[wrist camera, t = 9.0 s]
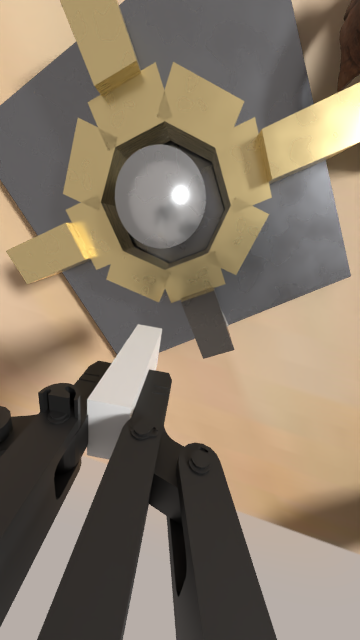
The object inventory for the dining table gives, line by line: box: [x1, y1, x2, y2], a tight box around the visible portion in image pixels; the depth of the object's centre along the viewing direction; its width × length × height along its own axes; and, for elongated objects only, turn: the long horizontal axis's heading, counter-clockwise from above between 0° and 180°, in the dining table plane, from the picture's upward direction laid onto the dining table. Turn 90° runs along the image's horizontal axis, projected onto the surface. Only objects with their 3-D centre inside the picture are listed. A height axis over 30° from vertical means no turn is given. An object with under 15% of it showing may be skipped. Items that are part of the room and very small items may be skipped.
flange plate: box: [0, 0, 351, 355], centre depth 15 cm, size 22×22×6 cm
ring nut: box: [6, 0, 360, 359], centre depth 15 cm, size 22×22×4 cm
